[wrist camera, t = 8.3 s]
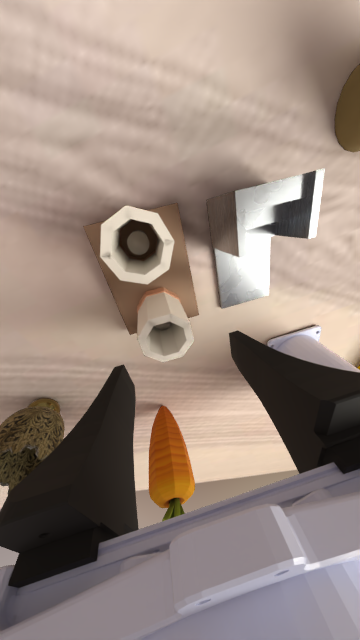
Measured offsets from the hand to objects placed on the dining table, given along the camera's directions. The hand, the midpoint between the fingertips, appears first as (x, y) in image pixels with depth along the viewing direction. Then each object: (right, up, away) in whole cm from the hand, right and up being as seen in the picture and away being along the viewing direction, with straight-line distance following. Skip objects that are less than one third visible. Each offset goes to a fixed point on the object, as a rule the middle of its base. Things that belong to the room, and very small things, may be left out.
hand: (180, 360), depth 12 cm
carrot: (-3, -11, +17) cm, 20 cm away
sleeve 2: (-2, +4, +7) cm, 9 cm away
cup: (-18, -9, +12) cm, 23 cm away
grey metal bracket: (+7, +10, +8) cm, 14 cm away
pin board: (-3, +7, +7) cm, 10 cm away
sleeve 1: (-4, +10, +4) cm, 11 cm away
